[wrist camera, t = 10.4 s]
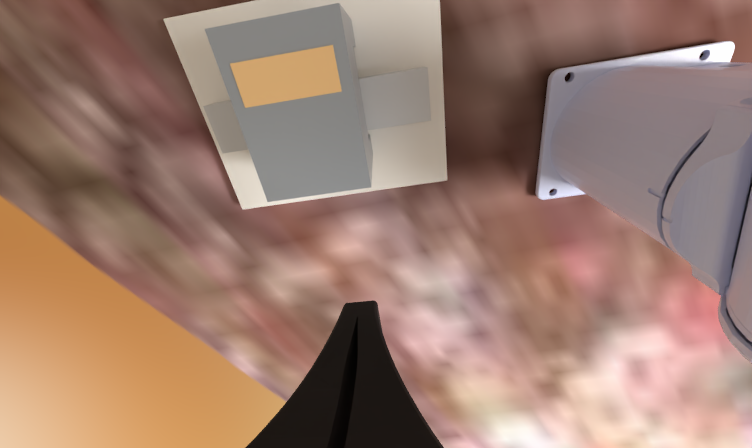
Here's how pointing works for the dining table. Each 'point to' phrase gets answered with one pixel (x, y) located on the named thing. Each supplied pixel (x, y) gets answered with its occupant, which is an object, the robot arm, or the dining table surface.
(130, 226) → the dining table surface
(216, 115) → the rail board
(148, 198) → the dining table surface
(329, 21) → the module
